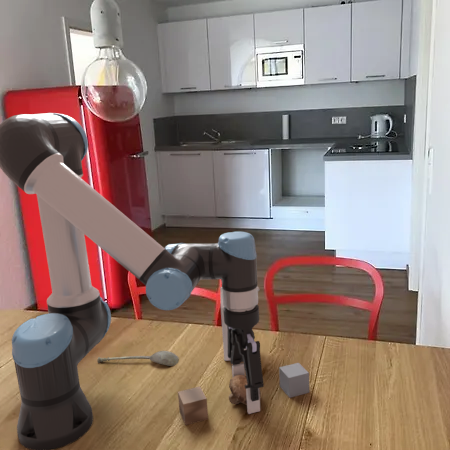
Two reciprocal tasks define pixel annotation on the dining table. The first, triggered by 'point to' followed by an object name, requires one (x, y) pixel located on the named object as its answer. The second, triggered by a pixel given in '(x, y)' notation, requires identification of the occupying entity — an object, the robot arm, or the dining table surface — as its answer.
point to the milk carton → (224, 332)
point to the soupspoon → (152, 358)
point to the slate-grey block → (294, 380)
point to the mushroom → (238, 389)
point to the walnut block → (193, 405)
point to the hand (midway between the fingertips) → (246, 400)
